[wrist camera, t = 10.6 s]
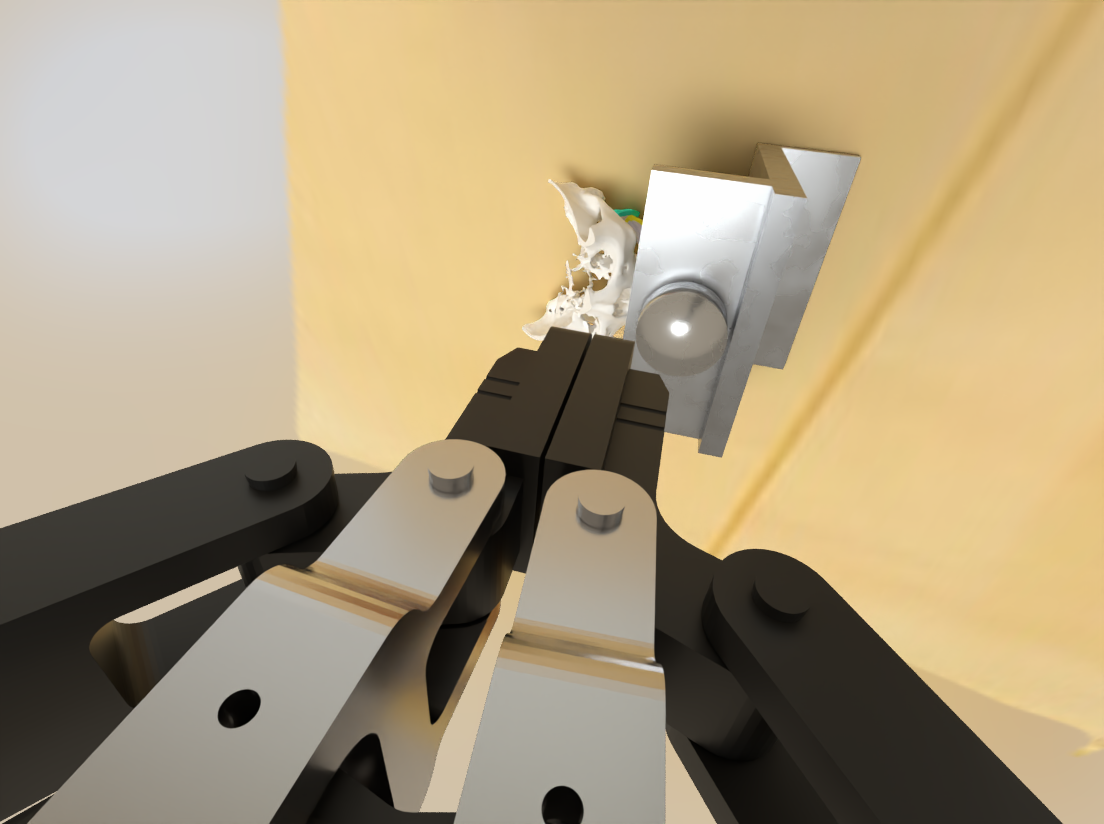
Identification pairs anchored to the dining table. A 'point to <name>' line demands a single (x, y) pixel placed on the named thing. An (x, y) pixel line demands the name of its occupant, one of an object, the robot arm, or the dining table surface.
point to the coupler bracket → (729, 277)
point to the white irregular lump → (594, 265)
